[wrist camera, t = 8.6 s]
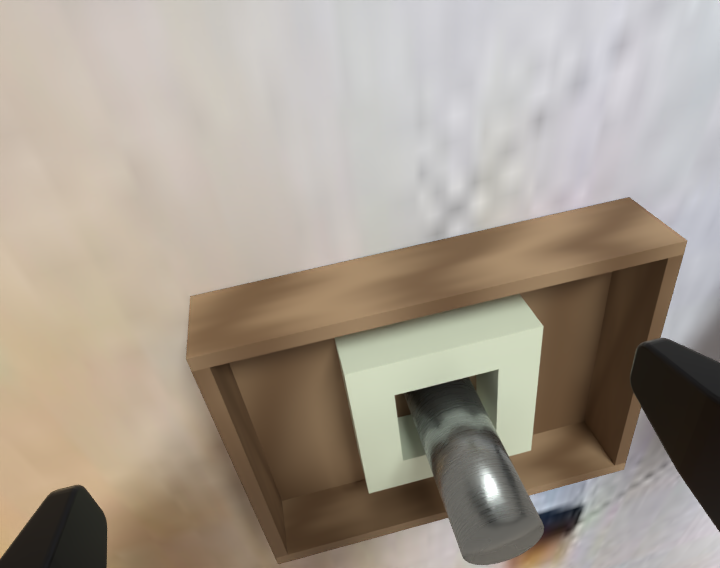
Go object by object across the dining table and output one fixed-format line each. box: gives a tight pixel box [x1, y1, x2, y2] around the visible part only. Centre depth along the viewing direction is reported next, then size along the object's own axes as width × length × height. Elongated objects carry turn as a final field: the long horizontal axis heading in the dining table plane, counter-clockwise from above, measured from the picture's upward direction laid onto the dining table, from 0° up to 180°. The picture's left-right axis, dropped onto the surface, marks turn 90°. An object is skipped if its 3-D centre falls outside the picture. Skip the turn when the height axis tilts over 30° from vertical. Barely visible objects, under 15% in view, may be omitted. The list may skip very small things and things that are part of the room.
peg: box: [404, 377, 544, 565], centre depth 22 cm, size 3×3×8 cm
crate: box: [186, 197, 687, 564], centre depth 24 cm, size 18×14×4 cm
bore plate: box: [335, 294, 543, 494], centre depth 24 cm, size 8×8×2 cm
